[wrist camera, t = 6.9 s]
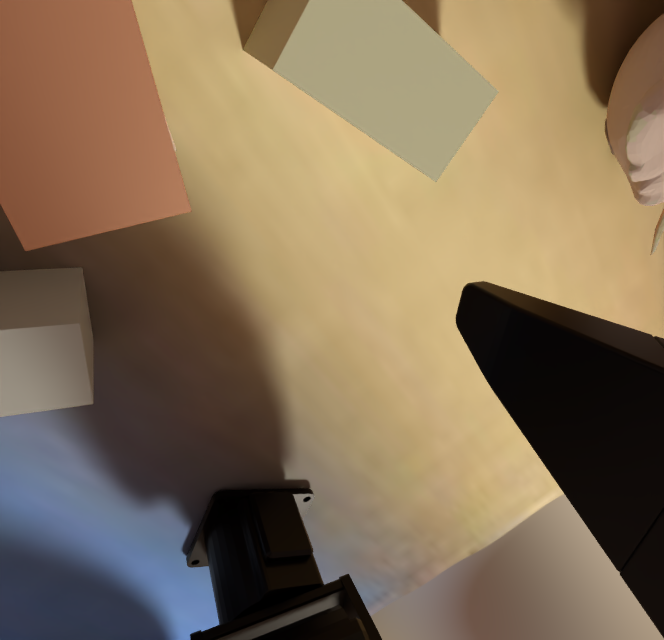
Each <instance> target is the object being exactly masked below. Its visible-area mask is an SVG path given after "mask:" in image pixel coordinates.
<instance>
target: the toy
mask: <svg viewBox="0 0 664 640" xmlns="http://www.w3.org/2000/svg"><path fill="white" fill-rule="evenodd" d="M605 134H606V138H607V141H608V143H609V146H610V149H611V151H612V154H614V155H615V157H616V158H617V160H618V162H619V164H620V165H621V167H622V169H623V171H624V173H625V174H626V176H627V178H628V181H629V183H630V185H631V188H632V191H633V194H634V197H635V199H636V200H637V201H638V202H639V203H640V204H642V205H645V206H653V205H657V204H660V203H663V202H664V14H662V15H661V16H660V17H658V18H657V19H656V20H655V21H654V22H653V23H652V24H651V25H650V26H649V27H648V28H647V29H646V30H645V31H644V32H643V33H642V34H641V35H640V37H639V38H638V39H637V41H636V42H635V43H634V45H633V46H632V48H631V49H630V51H629V52H628V54H627V56H626V57H625V59H624V61H623V63H622V65H621V67H620V69H619V71H618V74H617V76H616V79H615V81H614V84H613V88H612V91H611V94H610V98H609V103H608V109H607V119H606V121H605ZM663 230H664V209H663V211H662V214H661V216H660V218H659V221H658V224H657V226H656V229H655V234H654V239H653V244H652V250H651V254H650V255H652V254H653V253H654V252H655V250H656V248H657V246H658V243H659V240H660V237H661V234H662V232H663Z"/></svg>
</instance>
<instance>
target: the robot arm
mask: <svg viewBox="0 0 664 640" xmlns="http://www.w3.org/2000/svg"><path fill="white" fill-rule="evenodd" d="M456 325H457V328H458V330H459V331H460V333H461V335H462V337H463V339H464V341H465V342H466V344H467V346H468V348H469V350H470V352H471V353H472V355H473V357H474V359H475V361H476V362H477V364H478V366H479V368H480V370H481V372H482V373H483V375H484V377H485V379H486V380H487V382H488V384H489V385H490V387H491V388H492V390H493V391H494V393H495V394H496V396H497V397H498V398H499V400H500V401H501V403H502V404H503V406H504V407H505V409H506V410H507V411H508V413H509V414H510V416H511V417H512V419H513V420H514V422H515V423H516V424H517V426H518V427H519V429H520V430H521V432H522V433H523V435H524V436H525V437H526V439H527V440H528V442H529V443H530V445H531V446H532V448H533V449H534V450H535V452H536V453H537V455H538V456H539V458H540V459H541V461H542V462H543V464H544V465H545V466H546V468H547V469H548V471H549V472H550V474H551V475H552V477H553V478H554V479H555V481H556V482H557V484H558V485H559V487H560V488H561V490H562V491H563V492H564V494H565V495H566V497H567V498H568V499H569V501H570V502H571V504H572V505H573V507H574V508H575V510H576V511H577V513H578V514H579V516H580V517H581V518H582V520H583V521H584V523H585V524H586V525H587V527H588V529H589V530H590V531H591V533H592V534H593V536H594V537H595V538H596V540H597V542H598V543H599V544H600V546H601V547H602V549H603V550H604V552H605V553H606V555H607V556H608V557H609V559H610V560H611V562H612V563H613V565H614V566H615V568H616V569H617V570H618V571H619V572H620V575H621V576H622V578H623V580H624V581H625V583H626V584H627V586H628V587H629V588H630V590H631V591H632V593H633V594H634V596H635V597H636V599H637V600H638V601H639V603H640V604H641V606H642V607H643V609H644V610H645V611H646V613H647V615H648V616H649V617H650V619H651V620H652V622H653V623H654V625H655V626H656V628H657V629H658V630H659V632H660V633H661V635H662V636H663V638H664V339H663V338H660V337H657V336H655V337H653V336H652V335H651V334H647V333H644V332H641V331H638V330H635V329H632V328H629V327H626V326H623V325H619V324H616V323H613V322H610V321H607V320H604V319H601V318H598V317H594V316H591V315H588V314H585V313H582V312H579V311H576V310H573V309H569V308H566V307H563V306H560V305H557V304H554V303H551V302H548V301H545V300H541V299H538V298H535V297H532V296H529V295H526V294H523V293H520V292H516V291H513V290H510V289H507V288H504V287H501V286H498V285H495V284H491V283H488V282H484V281H481V282H473V283H468V284H467V285H465V287H464V288H463V290H462V294H461V298H460V302H459V306H458V310H457V314H456ZM313 500H314V494H313V491H312V490H311V489H270V490H225V491H219V492H217V493H215V494H214V495H213V497H212V499H211V501H210V504H209V506H208V508H207V511H206V513H205V515H204V518H203V520H202V522H201V525H200V527H199V529H198V532H197V534H196V536H195V539H194V541H193V543H192V546H191V548H190V550H189V553H188V555H187V558H186V560H187V566H188V567H203V566H209V570H210V575H211V580H212V586H213V591H214V597H215V602H216V608H217V613H218V619H219V624H220V625H218V626H215V627H213V628H210V629H208V630H205V631H202V632H201V630H200V631H197V632H194V633H192V634H190V638H191V640H382V638H381V636H380V634H379V632H378V630H377V628H376V626H375V624H374V622H373V620H372V618H371V616H370V615H369V613H368V611H367V609H366V607H365V605H364V603H363V601H362V599H361V597H360V595H359V593H358V591H357V589H356V587H355V585H354V583H353V581H352V579H351V577H350V575H349V574H346V575H344V576H341V577H339V579H338V580H335V581H333V582H330V583H328V584H325V585H324V583H323V581H322V578H321V575H320V572H319V569H318V567H317V564H316V561H315V558H314V556H313V548H312V545H311V542H310V540H309V537H308V534H307V531H306V529H305V526H304V523H303V518H304V516H305V514H306V513H307V511H308V509H309V507H310V505H311V504H312V502H313Z"/></svg>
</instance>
